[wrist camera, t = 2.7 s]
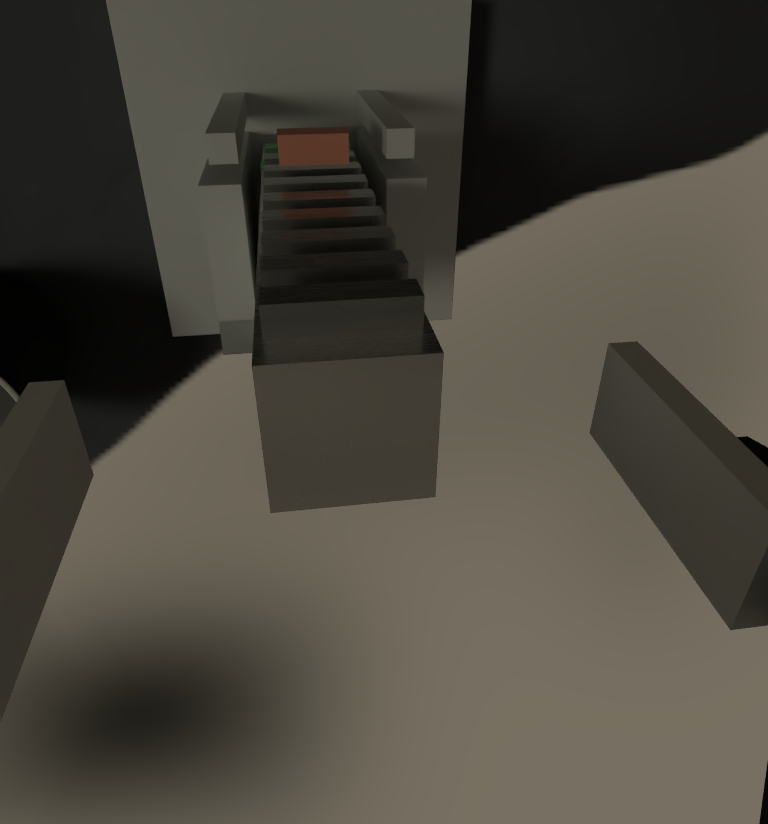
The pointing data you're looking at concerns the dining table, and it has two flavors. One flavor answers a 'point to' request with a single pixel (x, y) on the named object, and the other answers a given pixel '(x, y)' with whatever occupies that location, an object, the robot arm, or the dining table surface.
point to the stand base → (289, 132)
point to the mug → (28, 343)
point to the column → (339, 345)
